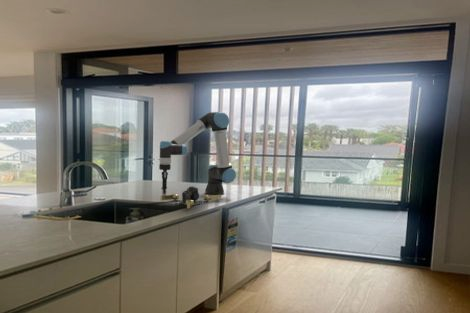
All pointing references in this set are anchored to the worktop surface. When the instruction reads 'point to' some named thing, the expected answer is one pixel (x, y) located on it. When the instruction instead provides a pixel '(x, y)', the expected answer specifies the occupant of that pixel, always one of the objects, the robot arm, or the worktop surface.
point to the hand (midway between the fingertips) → (164, 198)
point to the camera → (190, 194)
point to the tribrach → (198, 202)
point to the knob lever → (170, 197)
